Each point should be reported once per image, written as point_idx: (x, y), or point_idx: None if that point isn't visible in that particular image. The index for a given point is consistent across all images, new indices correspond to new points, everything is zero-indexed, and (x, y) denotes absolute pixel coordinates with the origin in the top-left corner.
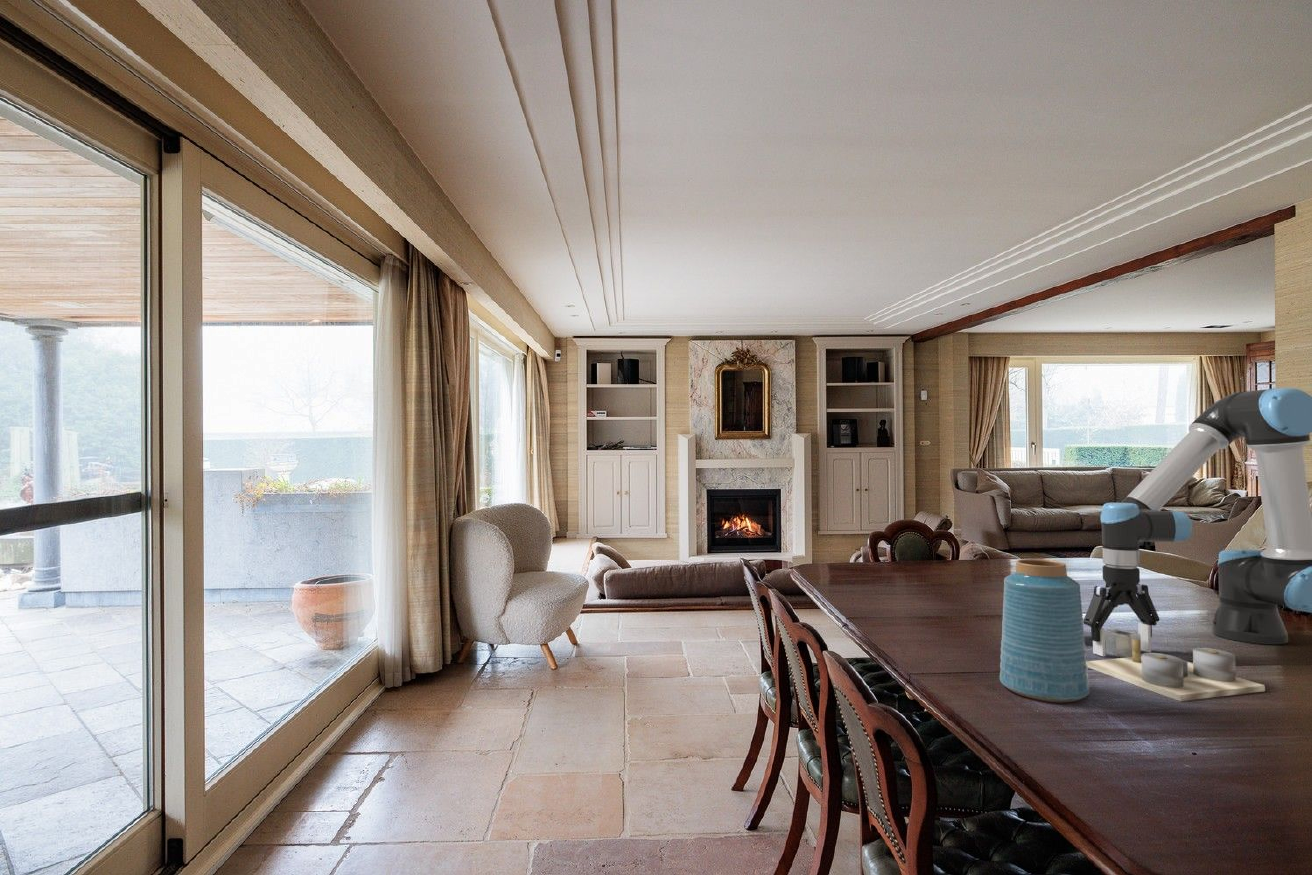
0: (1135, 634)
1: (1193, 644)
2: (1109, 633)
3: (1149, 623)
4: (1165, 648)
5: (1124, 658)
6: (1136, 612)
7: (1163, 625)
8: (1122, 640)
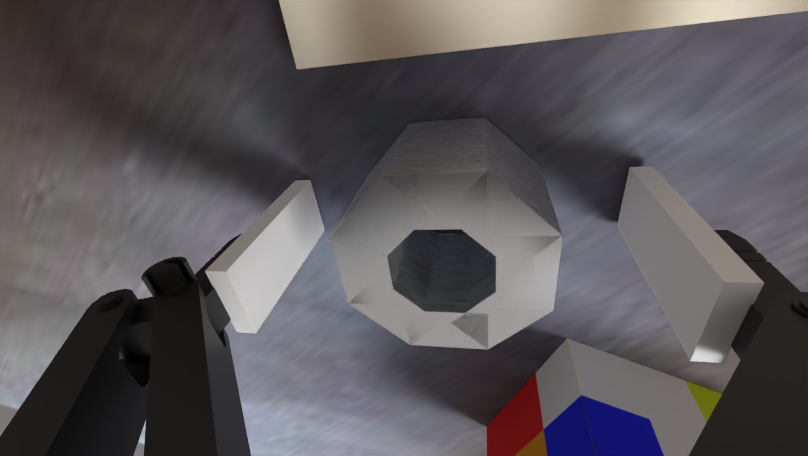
0: (380, 222)
1: (55, 232)
2: (555, 284)
3: (200, 286)
4: (191, 216)
5: (676, 8)
6: (234, 400)
7: None
8: (528, 190)
